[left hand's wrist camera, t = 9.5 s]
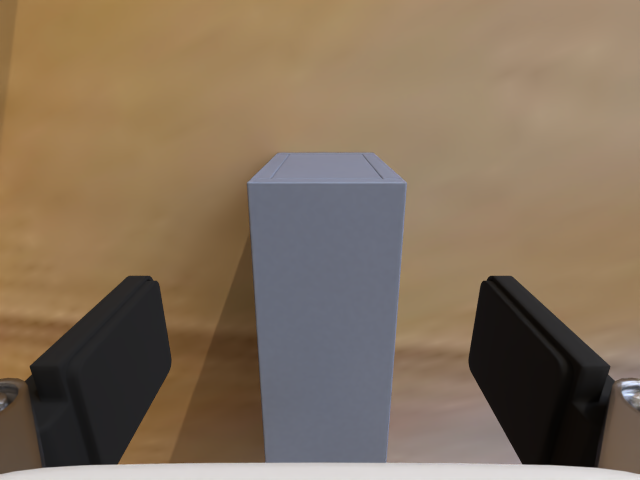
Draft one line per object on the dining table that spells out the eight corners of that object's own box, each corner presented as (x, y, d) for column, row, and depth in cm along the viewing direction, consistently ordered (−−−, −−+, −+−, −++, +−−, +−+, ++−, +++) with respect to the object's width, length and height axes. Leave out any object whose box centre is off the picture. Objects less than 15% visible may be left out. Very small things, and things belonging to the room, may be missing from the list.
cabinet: (363, 394, 31) (381, 527, 21) (286, 393, 31) (269, 526, 21) (373, 152, 24) (407, 182, 15) (277, 152, 24) (246, 182, 15)
